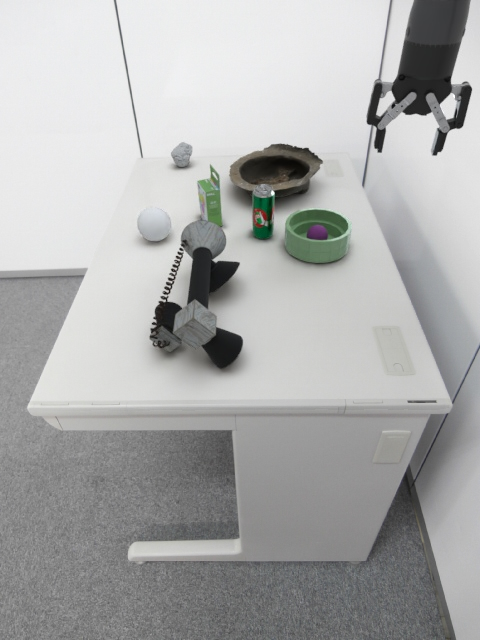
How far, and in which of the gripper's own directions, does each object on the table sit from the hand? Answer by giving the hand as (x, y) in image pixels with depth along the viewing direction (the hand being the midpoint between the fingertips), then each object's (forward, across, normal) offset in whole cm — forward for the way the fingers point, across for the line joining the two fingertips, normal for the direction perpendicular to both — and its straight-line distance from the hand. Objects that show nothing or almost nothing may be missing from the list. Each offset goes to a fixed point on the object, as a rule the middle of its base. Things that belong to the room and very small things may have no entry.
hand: (405, 152), depth 72 cm
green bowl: (+28, +13, -13) cm, 34 cm away
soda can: (+28, +26, -16) cm, 42 cm away
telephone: (+28, +33, +15) cm, 46 cm away
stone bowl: (+28, +27, -39) cm, 55 cm away
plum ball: (+25, +13, -13) cm, 31 cm away
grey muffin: (+28, +57, -51) cm, 82 cm away
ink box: (+28, +40, -20) cm, 53 cm away
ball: (+28, +51, -10) cm, 59 cm away
